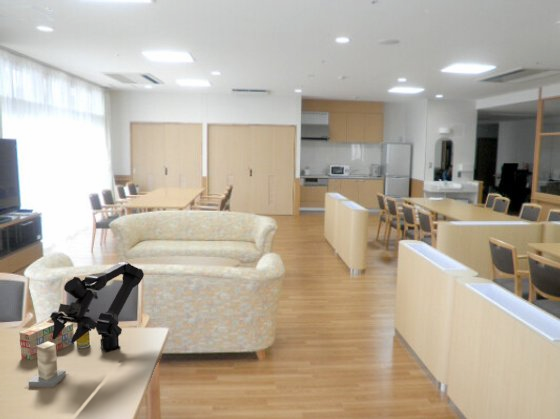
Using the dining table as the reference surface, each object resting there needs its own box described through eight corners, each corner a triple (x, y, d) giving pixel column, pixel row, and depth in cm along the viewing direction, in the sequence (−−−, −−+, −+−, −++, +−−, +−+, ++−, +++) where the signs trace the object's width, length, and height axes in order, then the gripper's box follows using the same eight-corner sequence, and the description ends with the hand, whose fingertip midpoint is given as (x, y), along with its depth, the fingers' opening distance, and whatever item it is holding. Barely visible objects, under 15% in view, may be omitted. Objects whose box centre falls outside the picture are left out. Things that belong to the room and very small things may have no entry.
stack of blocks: (64, 340, 214) (62, 314, 212) (74, 343, 211) (72, 316, 209) (21, 360, 194) (19, 331, 193) (31, 363, 192) (29, 334, 190)
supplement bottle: (76, 344, 209) (75, 324, 208) (89, 342, 211) (88, 322, 210) (77, 349, 204) (75, 328, 203) (90, 347, 207) (89, 326, 205)
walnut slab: (41, 378, 181) (41, 373, 180) (69, 379, 180) (69, 374, 180) (24, 393, 170) (24, 388, 170) (54, 394, 169) (54, 389, 169)
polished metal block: (50, 371, 178) (48, 341, 176) (57, 374, 175) (55, 344, 174) (38, 376, 174) (36, 345, 172) (46, 379, 172) (44, 348, 170)
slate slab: (42, 374, 179) (42, 369, 179) (65, 375, 179) (65, 370, 179) (28, 386, 171) (28, 381, 170) (53, 387, 170) (52, 382, 170)
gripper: (52, 291, 186) (30, 328, 178) (89, 297, 180) (69, 335, 171) (68, 304, 195) (48, 340, 186) (105, 310, 188) (86, 347, 180)
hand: (62, 340), depth 181 cm, fingers open, 9 cm apart
